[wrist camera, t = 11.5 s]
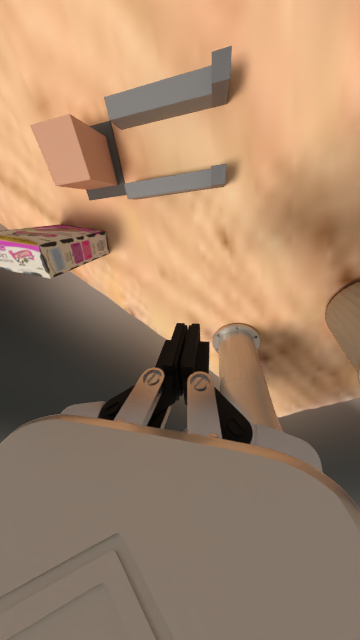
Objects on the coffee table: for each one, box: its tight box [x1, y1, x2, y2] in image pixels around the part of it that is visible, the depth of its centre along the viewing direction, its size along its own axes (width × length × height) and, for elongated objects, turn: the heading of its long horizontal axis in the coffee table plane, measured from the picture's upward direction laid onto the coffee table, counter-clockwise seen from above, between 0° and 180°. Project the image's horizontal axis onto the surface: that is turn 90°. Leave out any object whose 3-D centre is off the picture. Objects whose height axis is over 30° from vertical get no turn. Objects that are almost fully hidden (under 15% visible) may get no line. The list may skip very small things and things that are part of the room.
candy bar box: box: [0, 225, 109, 278], centre depth 30 cm, size 11×5×16 cm, turn 85°
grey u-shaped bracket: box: [104, 46, 232, 199], centre depth 23 cm, size 11×16×6 cm
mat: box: [86, 121, 127, 200], centre depth 28 cm, size 9×8×1 cm
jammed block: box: [30, 114, 118, 190], centre depth 25 cm, size 6×6×8 cm
